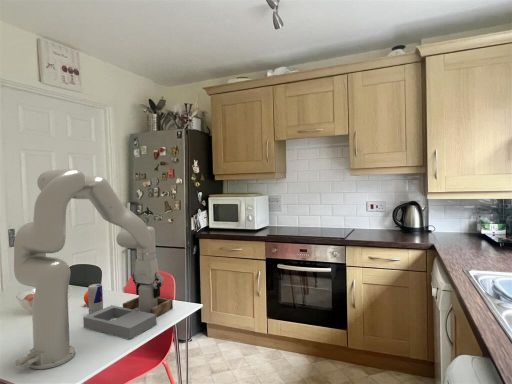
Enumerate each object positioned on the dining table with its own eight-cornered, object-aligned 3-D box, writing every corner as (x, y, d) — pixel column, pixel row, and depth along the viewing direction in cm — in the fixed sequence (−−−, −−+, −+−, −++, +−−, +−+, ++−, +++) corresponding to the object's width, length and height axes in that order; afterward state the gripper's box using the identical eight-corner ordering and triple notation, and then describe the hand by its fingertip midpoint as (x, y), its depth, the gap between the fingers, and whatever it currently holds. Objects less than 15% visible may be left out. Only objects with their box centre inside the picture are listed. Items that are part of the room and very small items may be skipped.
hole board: (130, 339, 114) (129, 328, 114) (83, 327, 124) (83, 317, 124) (156, 324, 126) (156, 314, 126) (111, 314, 136) (111, 305, 136)
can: (154, 314, 136) (153, 285, 136) (136, 314, 136) (135, 285, 136) (159, 307, 143) (159, 280, 143) (142, 307, 144) (142, 280, 143)
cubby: (152, 319, 131) (152, 309, 131) (122, 312, 138) (122, 303, 138) (172, 308, 142) (172, 299, 141) (144, 303, 149) (143, 294, 148)
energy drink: (105, 313, 137) (104, 285, 137) (91, 317, 134) (90, 288, 133) (100, 310, 141) (99, 282, 141) (86, 314, 137) (85, 285, 137)
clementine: (84, 302, 150) (84, 287, 150) (101, 300, 153) (100, 285, 153) (83, 308, 143) (83, 292, 143) (101, 305, 146) (100, 290, 146)
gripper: (124, 256, 139) (126, 296, 140) (156, 259, 132) (157, 301, 133) (137, 252, 146) (139, 290, 147) (168, 255, 139) (170, 295, 139)
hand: (148, 295), depth 140 cm, fingers open, 9 cm apart
